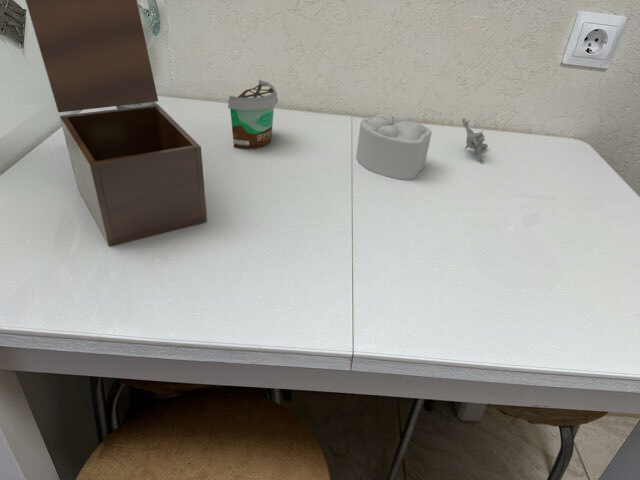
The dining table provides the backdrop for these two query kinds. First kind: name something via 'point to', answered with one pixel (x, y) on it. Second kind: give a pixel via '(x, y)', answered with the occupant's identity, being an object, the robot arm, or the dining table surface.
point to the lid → (93, 52)
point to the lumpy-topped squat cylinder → (393, 146)
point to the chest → (136, 171)
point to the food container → (253, 116)
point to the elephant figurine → (475, 140)
